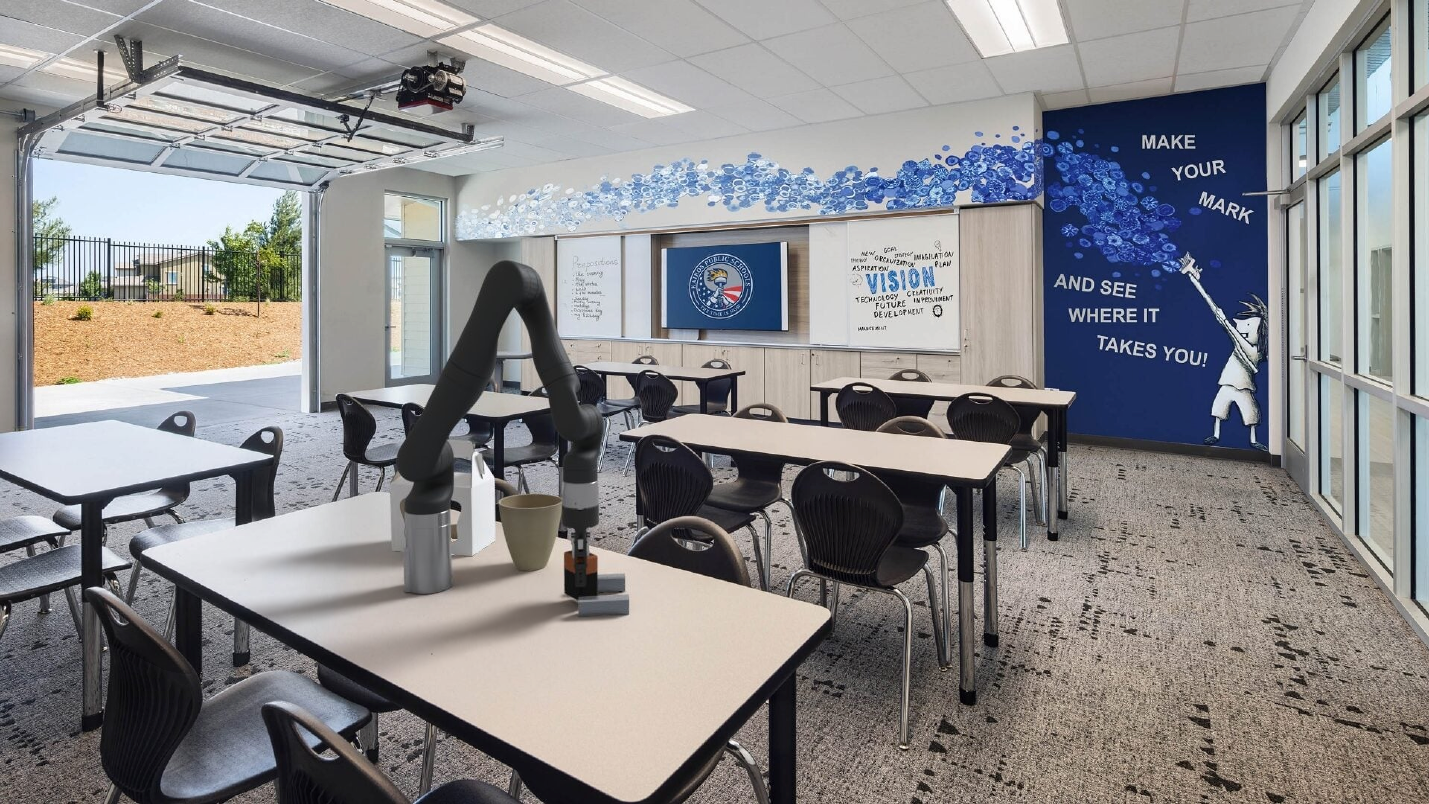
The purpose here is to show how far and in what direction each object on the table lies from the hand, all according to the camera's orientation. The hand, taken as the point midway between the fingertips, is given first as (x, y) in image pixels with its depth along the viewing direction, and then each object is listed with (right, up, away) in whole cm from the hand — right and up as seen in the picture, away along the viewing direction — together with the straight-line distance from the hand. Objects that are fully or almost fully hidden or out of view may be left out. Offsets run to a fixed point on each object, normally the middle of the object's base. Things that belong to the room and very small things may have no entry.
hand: (580, 579), depth 156 cm
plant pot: (-16, -3, +24) cm, 29 cm away
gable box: (-42, -1, +39) cm, 57 cm away
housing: (+4, -5, +1) cm, 7 cm away
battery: (0, -4, 0) cm, 4 cm away
